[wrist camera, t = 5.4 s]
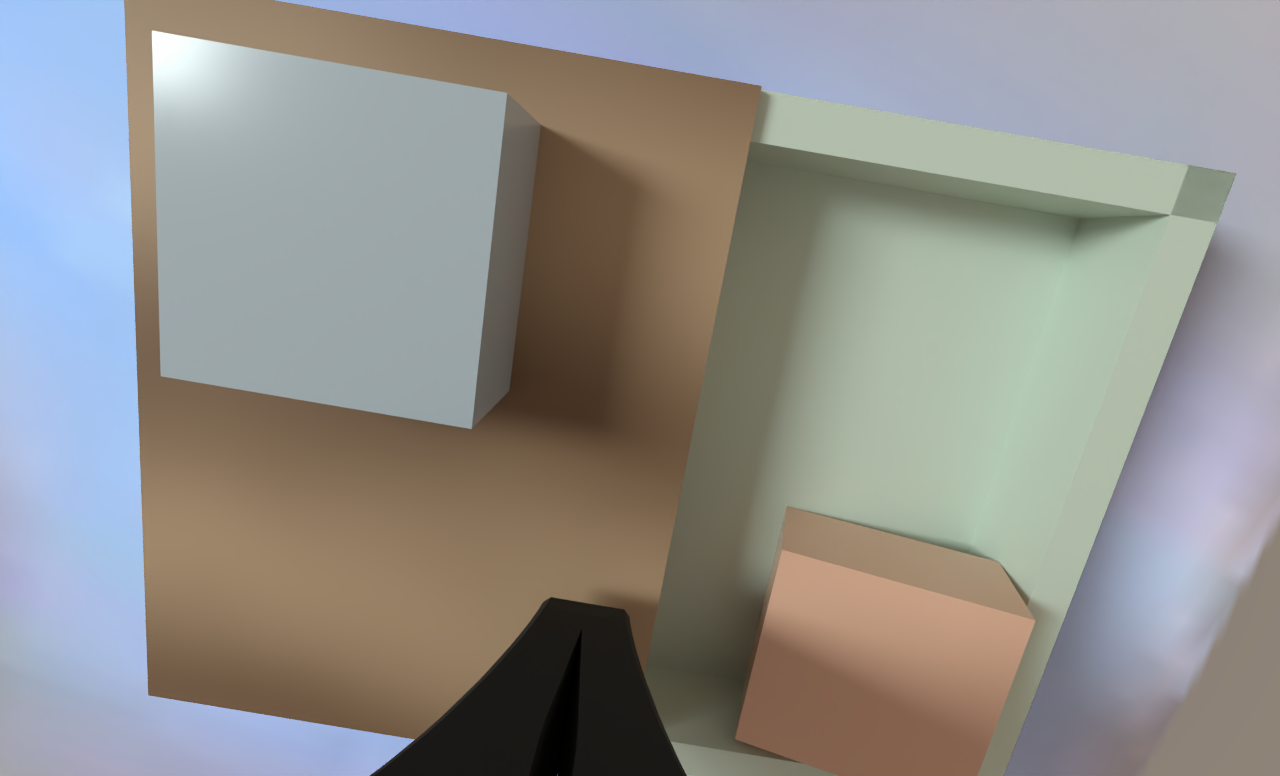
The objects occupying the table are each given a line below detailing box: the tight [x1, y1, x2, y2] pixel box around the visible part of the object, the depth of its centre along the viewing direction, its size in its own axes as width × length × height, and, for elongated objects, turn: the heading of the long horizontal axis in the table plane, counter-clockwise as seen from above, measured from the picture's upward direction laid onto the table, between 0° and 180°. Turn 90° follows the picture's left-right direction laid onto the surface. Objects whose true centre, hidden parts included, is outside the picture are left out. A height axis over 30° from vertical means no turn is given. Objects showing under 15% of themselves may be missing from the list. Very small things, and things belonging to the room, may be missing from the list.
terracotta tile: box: [735, 506, 1036, 776], centre depth 12 cm, size 4×4×2 cm
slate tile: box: [152, 31, 541, 429], centre depth 8 cm, size 4×4×2 cm
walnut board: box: [124, 0, 761, 739], centre depth 11 cm, size 12×9×3 cm
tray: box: [644, 90, 1236, 776], centre depth 11 cm, size 12×7×2 cm, turn 170°
